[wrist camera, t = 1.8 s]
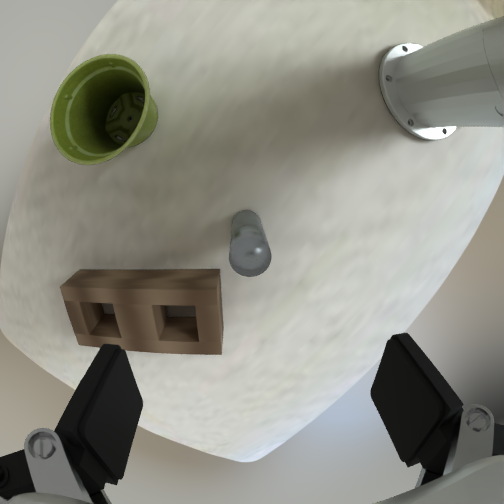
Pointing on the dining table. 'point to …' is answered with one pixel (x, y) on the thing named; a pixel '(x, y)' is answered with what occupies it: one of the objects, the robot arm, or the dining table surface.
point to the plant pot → (102, 110)
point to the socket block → (147, 309)
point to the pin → (248, 245)
